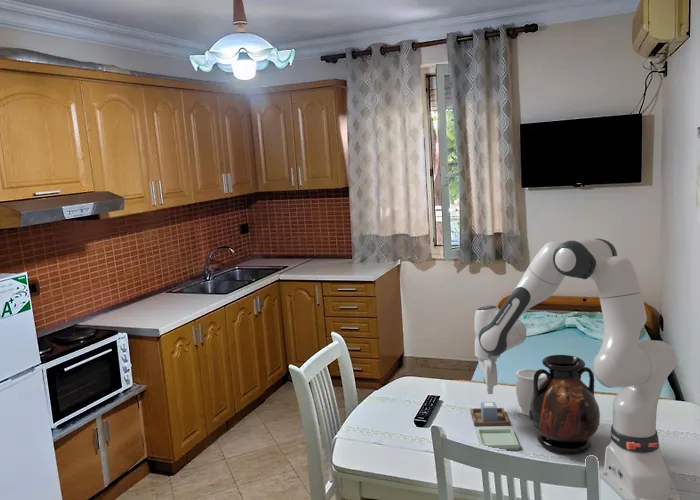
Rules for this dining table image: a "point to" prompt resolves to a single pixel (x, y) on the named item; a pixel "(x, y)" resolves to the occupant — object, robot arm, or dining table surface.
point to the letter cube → (489, 411)
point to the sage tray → (498, 438)
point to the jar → (526, 388)
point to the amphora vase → (564, 405)
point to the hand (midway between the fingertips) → (488, 388)
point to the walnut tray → (479, 421)
